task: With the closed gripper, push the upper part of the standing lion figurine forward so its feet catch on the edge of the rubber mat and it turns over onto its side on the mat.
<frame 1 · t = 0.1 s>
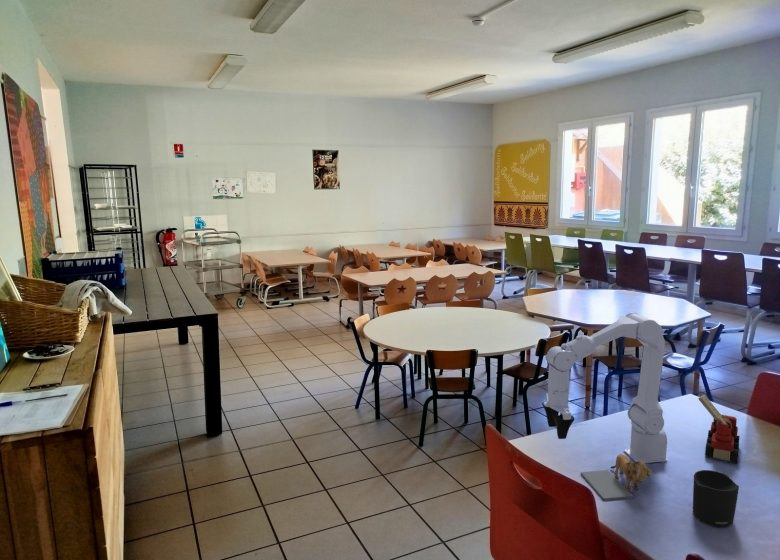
hand: (557, 432, 157), 10 cm above the table, tool pointing down, fingers open, 7 cm apart
lion figurine: (628, 484, 148), on the table
pen holder: (712, 517, 133), on the table
toy fire truck: (716, 451, 165), on the table
rubber mat: (605, 485, 147), on the table
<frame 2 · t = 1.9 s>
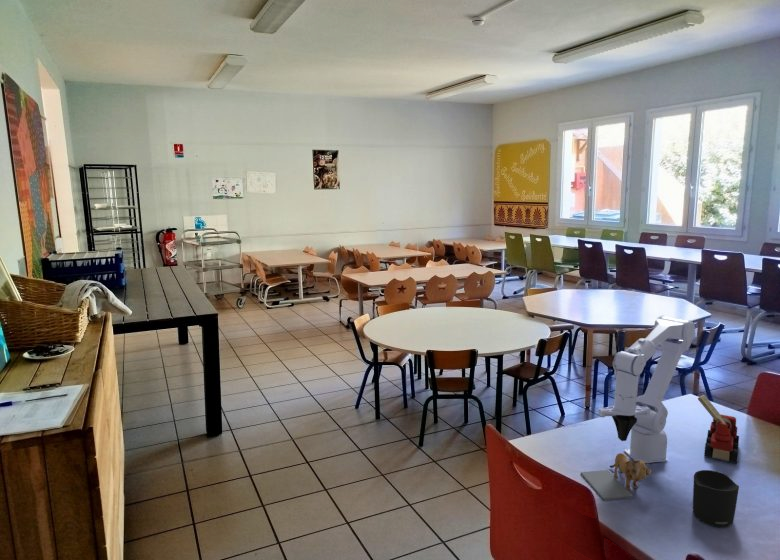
hand: (622, 439, 153), 9 cm above the table, tool pointing down, fingers closed
nothing on the table moved.
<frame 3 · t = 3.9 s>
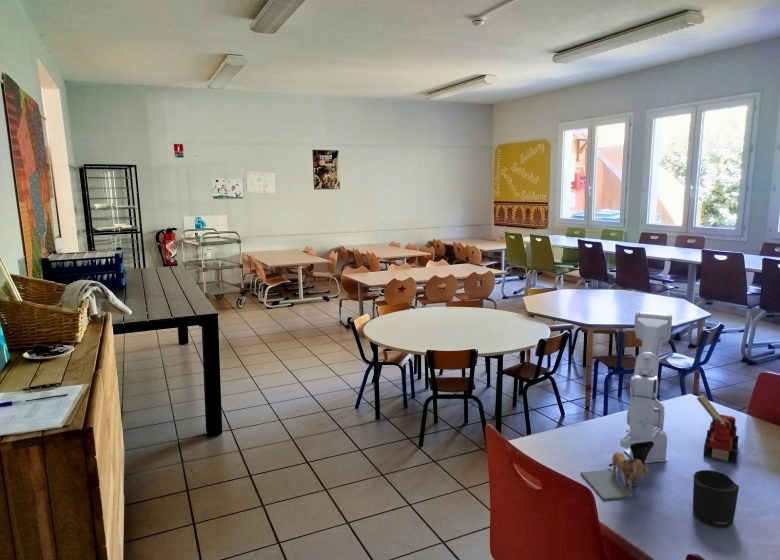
hand: (638, 465, 147), 5 cm above the table, tool pointing down, fingers closed
lion figurine: (627, 481, 149), on the table, touching gripper
everything else where it was.
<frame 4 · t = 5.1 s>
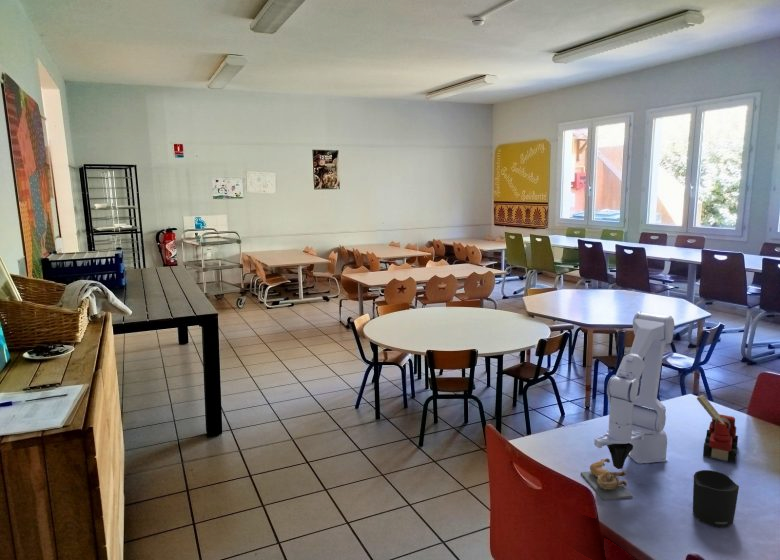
hand: (617, 467, 147), 5 cm above the table, tool pointing down, fingers closed
lion figurine: (620, 471, 148), point 3 cm above the table, touching rubber mat
everything else where it was.
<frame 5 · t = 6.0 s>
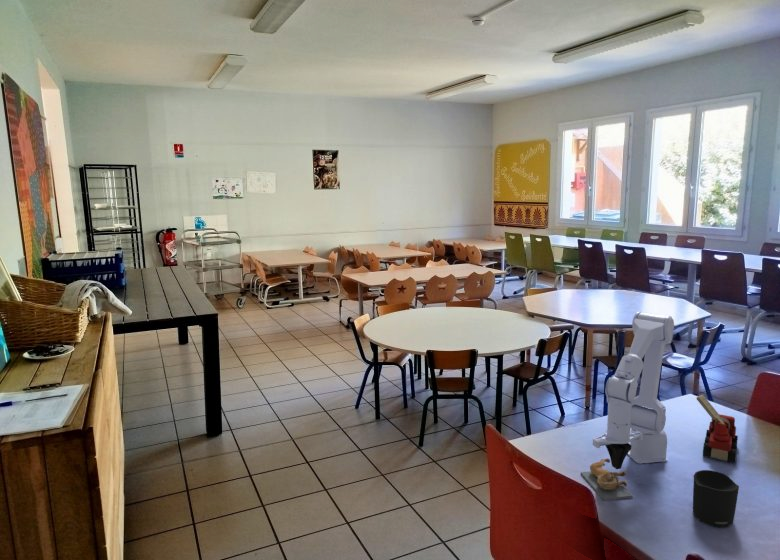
hand: (616, 467, 147), 5 cm above the table, tool pointing down, fingers closed
nothing on the table moved.
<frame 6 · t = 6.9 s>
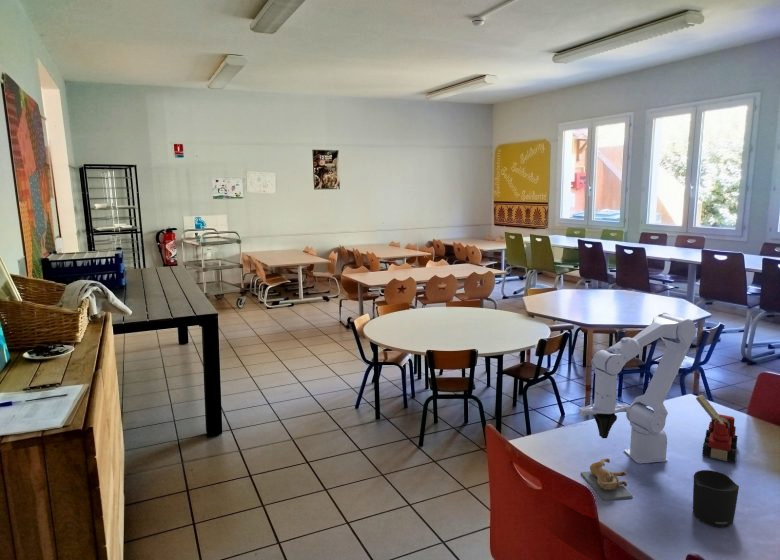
hand: (603, 436, 155), 9 cm above the table, tool pointing down, fingers closed
nothing on the table moved.
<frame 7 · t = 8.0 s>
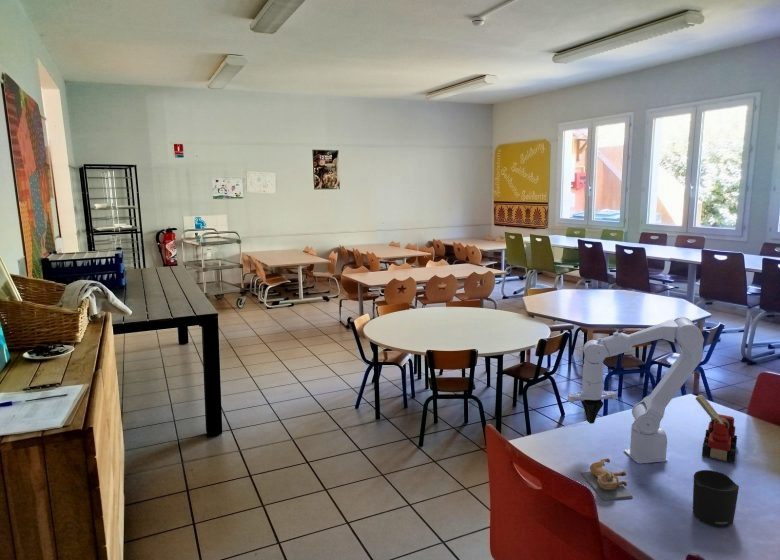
hand: (590, 422, 165), 9 cm above the table, tool pointing down, fingers closed
nothing on the table moved.
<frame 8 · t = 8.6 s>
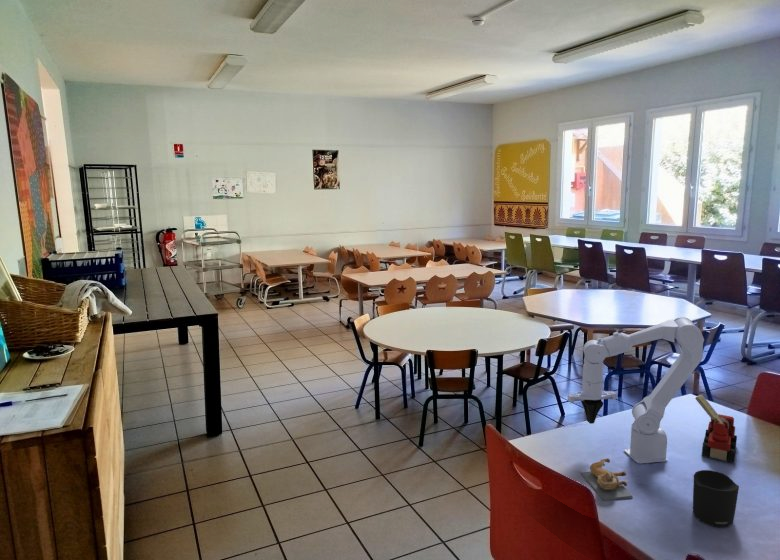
hand: (590, 422, 165), 9 cm above the table, tool pointing down, fingers closed
nothing on the table moved.
at the end: lion figurine tilted 90°; lion figurine inside the target area on the rubber mat (4.3 cm from its centre), point 2.9 cm above the rubber mat's base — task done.
